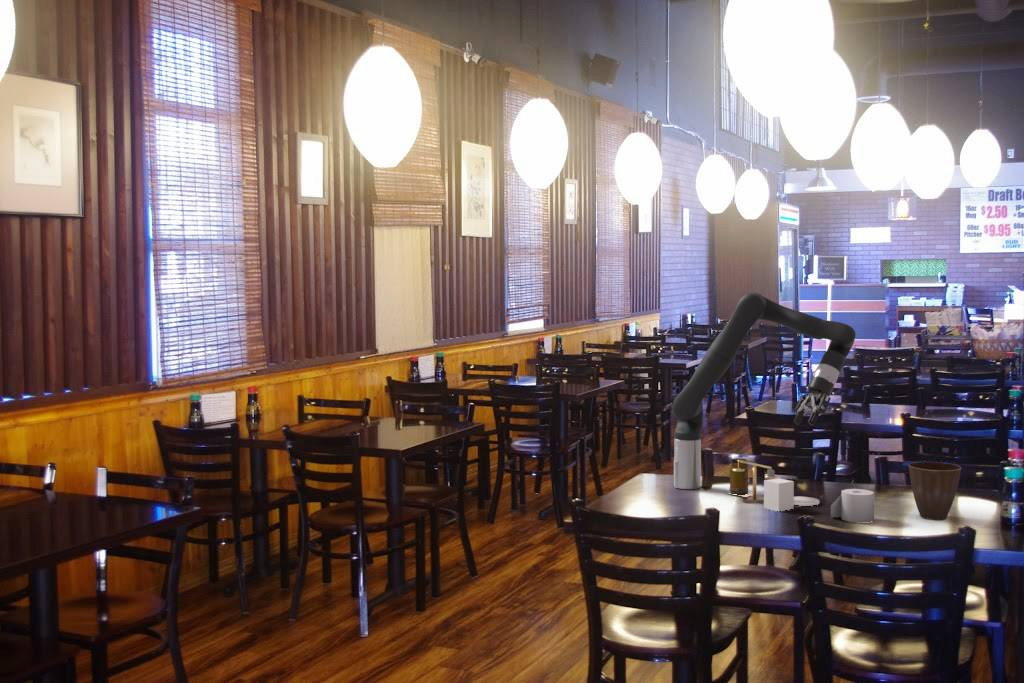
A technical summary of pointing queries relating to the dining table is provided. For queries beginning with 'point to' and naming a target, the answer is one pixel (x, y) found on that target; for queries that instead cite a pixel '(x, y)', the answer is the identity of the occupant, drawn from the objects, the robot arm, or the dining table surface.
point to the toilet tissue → (854, 505)
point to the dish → (805, 501)
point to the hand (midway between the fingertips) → (803, 424)
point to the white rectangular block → (778, 494)
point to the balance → (769, 475)
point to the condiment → (738, 478)
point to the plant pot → (934, 487)
